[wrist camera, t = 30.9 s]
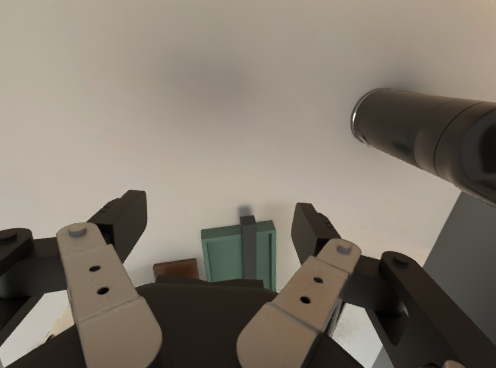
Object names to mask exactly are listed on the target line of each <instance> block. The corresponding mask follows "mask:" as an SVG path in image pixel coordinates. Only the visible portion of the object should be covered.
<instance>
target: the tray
mask: <svg viewBox="0 0 496 368" xmlns="http://www.w3.org/2000/svg"><path fill="white" fill-rule="evenodd" d="M256 224H257V280H263V283H264V288H267V289H270V290H273V291H275V292H276V229H275V227H274V224H273V222H272V221H266V222H259V223H256ZM201 241H202V248H203V255H204V262H205V268H206V275H207V282H217V281H224V280H232V279H243V272H242V250H241V227H240V225H236V226H229V227H222V228H214V229H207V230H201Z"/></svg>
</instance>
